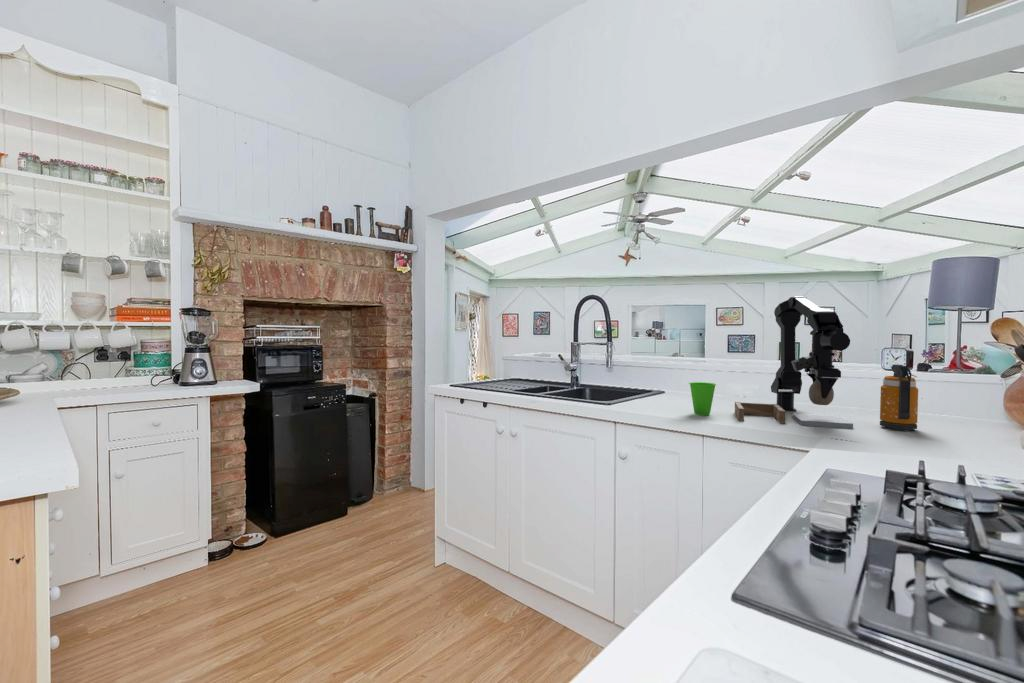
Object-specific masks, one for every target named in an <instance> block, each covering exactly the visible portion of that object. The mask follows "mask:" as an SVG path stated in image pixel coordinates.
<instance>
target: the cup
mask: <svg viewBox="0 0 1024 683" xmlns="http://www.w3.org/2000/svg"><path fill="white" fill-rule="evenodd" d="M688 384H689V387H690V393H691V399H692V407H693V412H694V414H695V415H697V416H710V414H711V411H712V404H713V401H714V394H715V389H716V388H715V387H716V386H717V384H716V383H714V382H705V381H704V382H703V381H700V382H699V381H693V382H688Z"/></svg>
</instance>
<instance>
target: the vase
mask: <svg viewBox="0 0 1024 683" xmlns="http://www.w3.org/2000/svg"><path fill="white" fill-rule="evenodd" d="M834 397H835V392H834V388H833V387H832V389H831V390H830V392H829V394H828V396H827V398H822V396H821V390H820V384H819V381H818V380H817V379H816V381H815V382H814V383H813V382H812V384H811V385H810V386H809V389H808V399H809V400H810V402H811V403H812V404H813V405H817V406H829V405H830V404H831V403H832V402H833V400H834Z"/></svg>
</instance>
